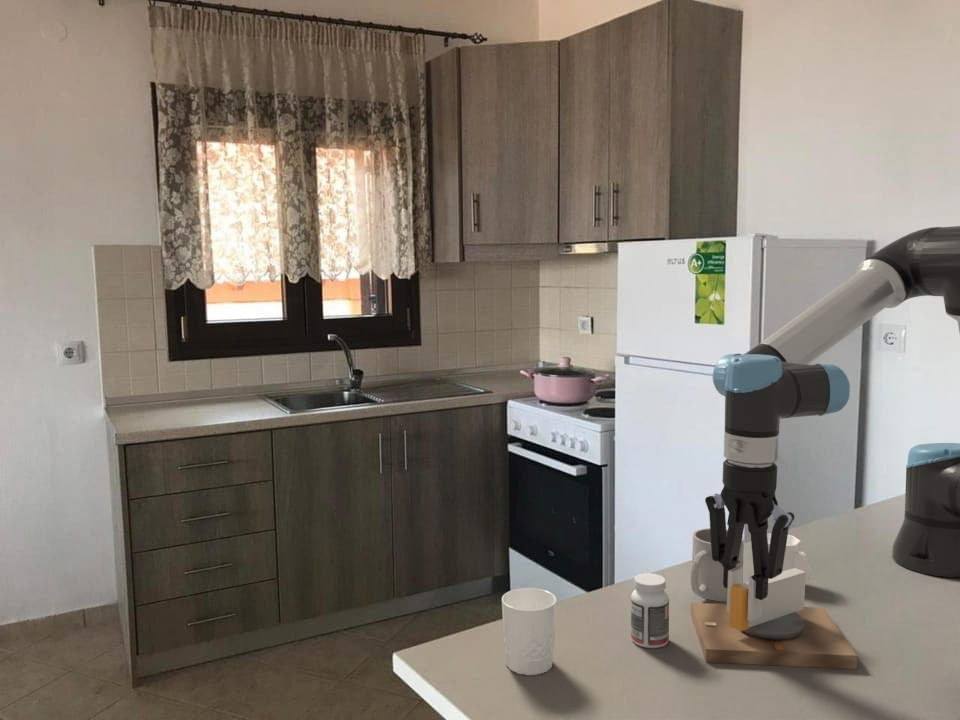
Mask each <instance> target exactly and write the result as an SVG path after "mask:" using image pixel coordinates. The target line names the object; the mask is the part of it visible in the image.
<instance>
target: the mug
mask: <svg viewBox="0 0 960 720" xmlns="http://www.w3.org/2000/svg"><path fill="white" fill-rule="evenodd" d="M727 532H728V529H726V536H727ZM744 544H745V538H744V535H743V536H742V542H741V547H740V553H739V559H738V560H739V561H740V563H739V564H736V567H737V566H740V567H742V584H743V583H744V579H743V578H744V550H745V549H744ZM691 549H692V551H691V552H692V553H691V554H692V555H691V557H692V559H691V561H692V562H691V569H690V587H691V592H693V593H694V595H696V596H698V597H701V598H702V599H706V600H710V601H716V602H717V601H718V602H727V589H728V588H725V587H724V585H723V578H724V577H723V573H724V568H723V566H722V564H721V563H720V562H718V561H714V560H713V559H712V551H711V534H710V527H709V528H708V527H707V528H700V529H697V530H695V531H694V532H693V533H692V548H691ZM739 561H738V562H739Z"/></svg>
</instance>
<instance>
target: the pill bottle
mask: <svg viewBox="0 0 960 720" xmlns="http://www.w3.org/2000/svg"><path fill="white" fill-rule="evenodd" d="M666 583H667V582H666V579H665V577H663V575H660V574H658V573H650V572H648V573H647V572H646V573H639V574H637V575H636V576H634V581H633V586H634V588H635V589H634V590H633V592H632V593H631V595H630V636H631V640H632V642H633V643H634V644H635V645H637V646H639V647H642V648H645V649H646V648H647V649H659V648H662V647H665V646H666V645H667V644H668V643H669V639H670V638H669V637H670V621H669V620H670V597H669V595H668V593H667V592H666V591H665V589H666V587H667V585H666Z"/></svg>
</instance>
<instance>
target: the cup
mask: <svg viewBox="0 0 960 720" xmlns="http://www.w3.org/2000/svg"><path fill="white" fill-rule="evenodd" d="M771 534H772V532H769V533H768V532H767V539H768V550H769V548H770V541H771ZM801 542H802V540H800V539H798V537H796V536H794V535H792V534H791V535H790V534H788V536H787V542H786V549H785V556H784V562H783V569H782V572H783V571H786V570H789V569H793V568H796V567H797V561H798V558H799V557H798V556H799V555H800V557H802V559H803V561H804V562H805V568H806V574H805V584H806V583H807V582H809V580H810V578H811V575H812V568H811V561H810V559H809V557H808V556H807V554H806V553H805V552H803V551H801V550H800V546H801Z"/></svg>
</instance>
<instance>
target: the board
mask: <svg viewBox="0 0 960 720" xmlns="http://www.w3.org/2000/svg"><path fill="white" fill-rule="evenodd" d="M796 613H798V614H799V615H800V616H801V617H802V618H803V632H802V633H801V634H800V635H799V636H797V637H794V638H790V639H767V638H762V637H757V636H754V635H751V634H749V633H746V632H744V631H739V630H737V629H735V628H733V627H731V626H729V625H730V613H729V612H727V603H706V602H705V603H703V602H690V617H691V621H692V623H693V626H694V630H695V632H696V635H697V640H698V643H699V645H700V648H701V651H702V654H703V657H704V661H705V663H715V664H716V663H717V664H720V663H721V664H740V665H741V664H743V665H759V666H761V665H763V666H785V667H803V668H805V667H807V668H827V669H829V668H830V669H848V670H849V669H850V670H851V669H852V670H857V669H858V654H857V653H856V651H855V650H854V649H853V647H852V646H851V644H850V643H849V642H848V641H849V640H847V639H846V637H845V635H843V633H842V632H841V630H840V629H839V627H838V626H837V624H836V623H835V622H834V620H833V619H832V617H831V616H830V614H829V613H828V611H827V610H826V609H825V607H819V606H818V607H815V606H812V607H811V606H810V607H809V606H804V609H802V610H799V611H796Z"/></svg>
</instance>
